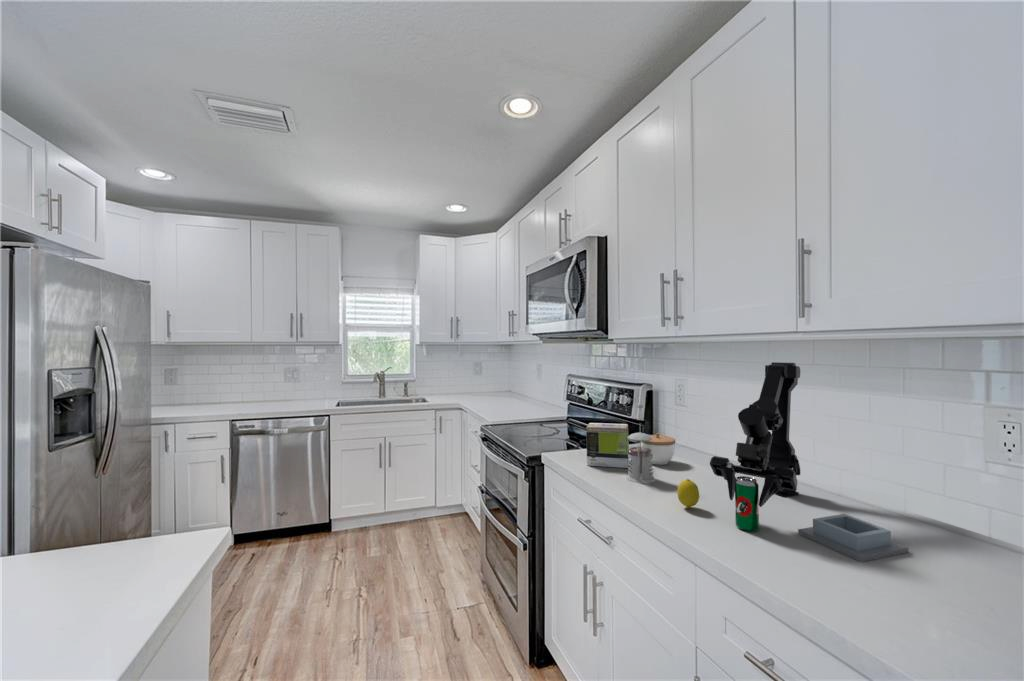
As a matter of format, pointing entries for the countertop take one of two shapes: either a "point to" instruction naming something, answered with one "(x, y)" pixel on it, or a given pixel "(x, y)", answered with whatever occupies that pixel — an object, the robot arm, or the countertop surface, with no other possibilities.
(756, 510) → the soda can
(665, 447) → the lidded bowl
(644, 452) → the french press
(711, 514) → the countertop surface
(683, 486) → the lemon
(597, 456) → the tea box
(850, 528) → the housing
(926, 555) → the countertop surface
